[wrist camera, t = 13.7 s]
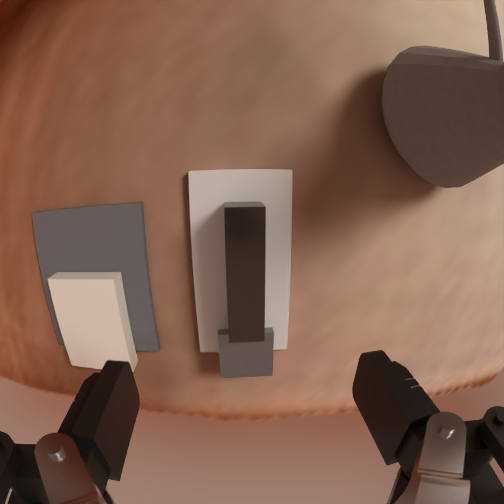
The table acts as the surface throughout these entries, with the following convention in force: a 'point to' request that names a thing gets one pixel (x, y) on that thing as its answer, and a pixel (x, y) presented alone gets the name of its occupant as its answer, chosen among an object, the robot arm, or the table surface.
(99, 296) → the tile
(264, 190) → the rest pad
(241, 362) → the grey post on base
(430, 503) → the robot arm
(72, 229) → the mat
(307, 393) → the table surface
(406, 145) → the coffee pot
